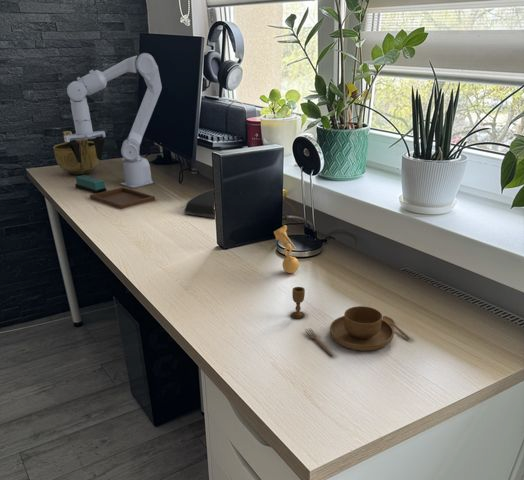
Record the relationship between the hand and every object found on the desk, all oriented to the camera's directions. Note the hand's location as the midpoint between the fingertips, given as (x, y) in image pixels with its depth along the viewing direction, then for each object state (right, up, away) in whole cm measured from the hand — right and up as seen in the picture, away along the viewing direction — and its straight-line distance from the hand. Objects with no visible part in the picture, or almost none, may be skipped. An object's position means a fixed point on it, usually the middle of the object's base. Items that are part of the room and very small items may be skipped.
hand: (89, 160), depth 187 cm
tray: (+15, -17, -10) cm, 25 cm away
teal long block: (0, -10, +2) cm, 10 cm away
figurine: (+69, -50, -64) cm, 106 cm away
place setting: (+80, -64, -86) cm, 134 cm away
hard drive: (+47, -23, -19) cm, 56 cm away
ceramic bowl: (-11, +3, +23) cm, 26 cm away
